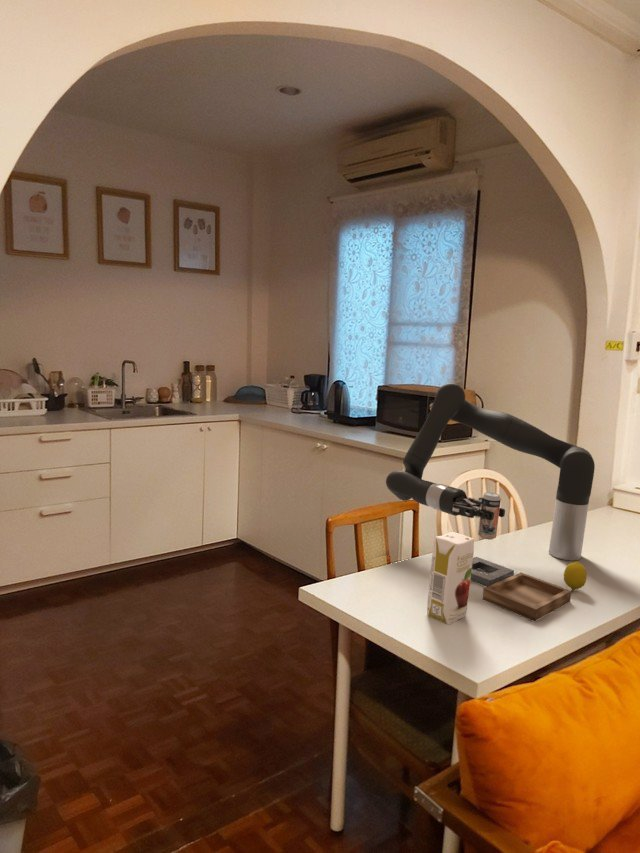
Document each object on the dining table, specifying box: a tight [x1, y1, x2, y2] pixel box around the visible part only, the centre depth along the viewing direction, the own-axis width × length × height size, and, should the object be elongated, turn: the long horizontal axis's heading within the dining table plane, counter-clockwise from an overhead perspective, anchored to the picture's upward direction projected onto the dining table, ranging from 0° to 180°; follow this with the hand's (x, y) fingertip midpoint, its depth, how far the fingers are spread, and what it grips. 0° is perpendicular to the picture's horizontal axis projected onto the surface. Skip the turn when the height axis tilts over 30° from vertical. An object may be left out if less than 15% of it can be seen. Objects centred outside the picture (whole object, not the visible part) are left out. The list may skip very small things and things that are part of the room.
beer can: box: [477, 491, 502, 541], centre depth 168 cm, size 5×5×12 cm
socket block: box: [470, 556, 515, 587], centre depth 170 cm, size 12×12×2 cm
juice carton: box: [426, 531, 475, 625], centre depth 143 cm, size 8×9×19 cm
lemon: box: [563, 560, 588, 591], centre depth 164 cm, size 6×6×8 cm
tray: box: [481, 572, 573, 622], centre depth 155 cm, size 18×14×3 cm
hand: (498, 514), depth 166 cm, fingers closed on beer can, 4 cm apart
